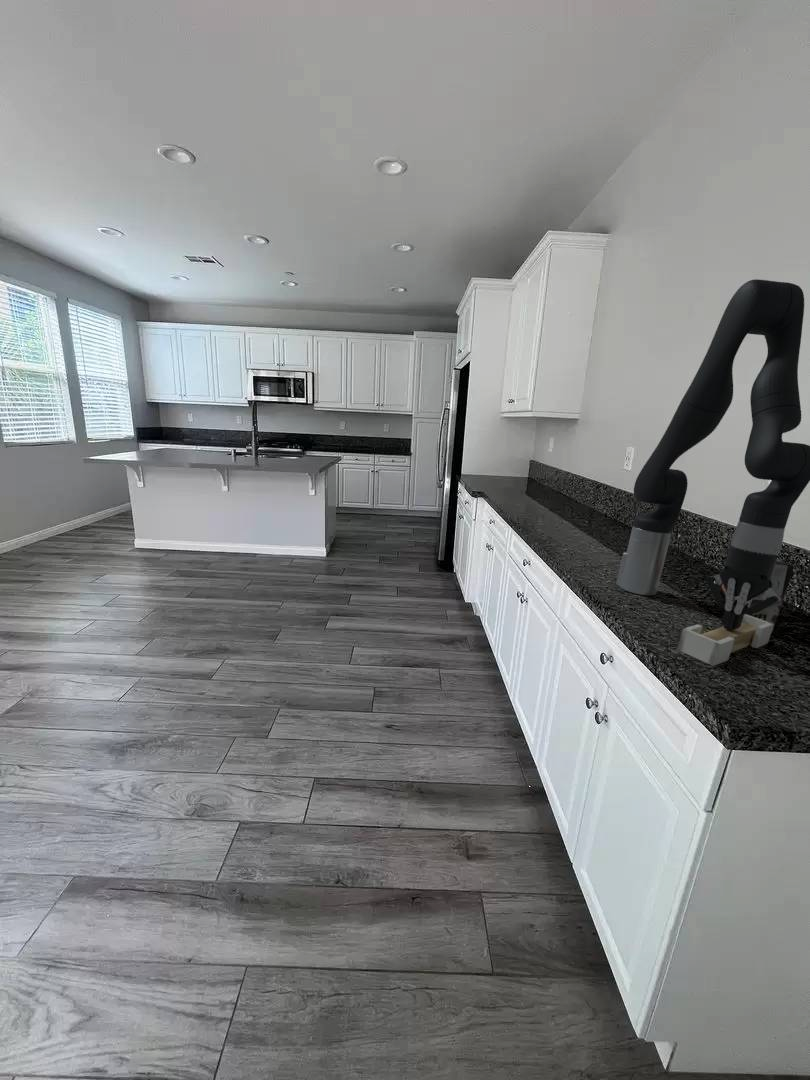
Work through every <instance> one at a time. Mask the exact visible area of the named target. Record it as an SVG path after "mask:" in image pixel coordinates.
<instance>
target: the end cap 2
mask: <svg viewBox="0 0 810 1080" xmlns="http://www.w3.org/2000/svg"><path fill="white" fill-rule="evenodd" d="M742 623H745V624H748V625H751V626H753V627H756V628H757V629H756V632H755V635H754V638H753V641H752V644H751V645H750V647H752V648H755V649H758V648H760V647H763V646H765V645H768V643H769V641H770V638H771V636H772V635H771V634H772V633H773V632H772V629H773V626H774V624H772V623H769V622H767V621H764V620H761V619H758V618H755V617H752V616H749V615H746V614H745V615H744V617H743V620H742ZM722 625H723V624H722ZM722 627H724V625H723V626H722ZM774 627H775V626H774ZM773 630H774V629H773ZM771 632H772V633H771Z"/></svg>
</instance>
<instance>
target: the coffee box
mask: <svg viewBox="0 0 810 1080" xmlns="http://www.w3.org/2000/svg"><path fill="white" fill-rule="evenodd" d="M794 569H795V565H794V564H791V563H789V562H787V561H783V560H782V559H780V558H777V561H776V564H775V567H774V570H773V573H772V576H771V583H772V587H771V589H772V590H773V591H774V592H775V593H776V594H777V595H780V596H781V597H782V600H781V601H780V602H778V603H776V604H774V605H772V606H770V607H768V608H766V609H764V610H762V611H760V612H758V613H755V614H752V615H749V616H752V617H755V618H758V619H761V620H764V621H767V622H769V623H772V624H774V626H773V629H772V632H771V634H772V633H773V631H774V630H775V629H774V628H775V626H776V622H777V619H778V617H779V614H780V611H781V608H782V605H783V602H784V599H785V597H786V592H787V591H788V587H789V584H790V580H791V577H792V575H793V572H794ZM764 595H765V592H764V593H762V594H761V595H759V596H757V597H755V598H753V599H752V602H751V603H750V604H749V607H752V606H754V605H756V604H758V603H760V602H762V601H764V600H763V596H764ZM746 615H747V614H746Z"/></svg>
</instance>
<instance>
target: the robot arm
mask: <svg viewBox="0 0 810 1080" xmlns="http://www.w3.org/2000/svg"><path fill="white" fill-rule="evenodd" d="M804 314H805V295H804V291H803V289H802V288H801V287H800V286H799V285H797V284H795V283H792V282H787V281H786V282H784V281H775V280H768V279H756V278H755V279H751V280H748V281H746V282H745V283H743V284H742V285H740V287H738V289H737V290H736V292H735V293H733V295H732V297H731V298H730V300H729V302H728V304H727V306H726V308H725V310H724V312H723V314H722V316H721V318H720V321H719V323H718V325H717V328H716V330H715V332H714V335H713V337H712V340H711V343H710V345H709V347H708V349H707V352H706V353H705V355H704V358H703V360H702V362H701V364H700V366H699V368H698V370H697V372H696V373H695V375H694V377H693V379H692V381H691V383H690V385H689V387H688V388H687V389H686V391H685V394H684V396H683V397H682V399H681V400H680V403H679V405H678V406H677V409H676V411H675V413H674V414H673V416H672V419H671V421H670V422H669V424H668V426H667V428H666V430H665V432H664V433H663V435H662V437H661V439H660V441H659V442H658V444H657V446H656V447H655V448H654V450H653V451H652V453H651V455H650V456H649V458H648V459H647V461H646V462H645V464H644V465H643V467H642V469H641V470H640V472H639V473H638V475H637V477H636V479H635V482H634V487H633V496H634V498H635V499H636V500H637V501H638V502H640V503H644V504H653V505H654V504H655V506H654V508H652V509H651V510H648V512H645V513H641V514H638V515H637V516H635V517H634V519H633V522H632V523H633V524H632V527H631V528H632V529H631V532H630V538H629V541H628V544H627V550H626V551H623V553H622V556H621V561H620V565H619V570H618V573H617V579H616V583H615V585H616V586H617V587H620V588H621V589H623V590H624V591H627V592H630V593H632V594H637V595H640V596H641V595H642V596H655V595H657V592H658V590H659V589H658V588H659V584H660V579H661V576H662V572H663V569H664V564H665V561H666V556H667V552H668V549H669V546H670V545H669V544H670V540H671V536H672V532H673V529H674V527H675V525H676V524H677V522H678V520H679V517H680V514H681V510H682V507H683V504H684V501H685V497H686V494H687V491H688V485H689V484H688V482H689V481H688V478H687V477H688V476H687V474H686V473H685V472H684V471H683V470H680V469H674V468H671V467H672V466H673V464H674V463H675V462H676V461H677V460H678V459H679V458H680V457H681V456H682V455H684V454H685V453H686V452H688V451H689V450H691V449H692V448H693V447H695V446H697V445H698V444H700V442H702V441H703V440H705V439H706V438H708V437H709V436H710V435H712V433H713V432H715V430H716V429H717V427H718V426H719V424H720V423H721V422H722V419H723V418H724V416H725V414H726V413H727V411H728V410H729V408H730V407H731V404H732V401H733V397H734V376H733V375H734V374H733V367H734V362H735V358H736V355H737V353H738V351H739V349H740V347H741V345H742V343H743V342H744V340H745V337H746V336H747V335H757V336H764V338H765V343H766V347H767V356H766V359H765V361H764V364H763V365H762V368H761V369H760V371H759V372H758V374H757V375H756V377H755V380H754V382H753V383H752V386H751V391H750V411H751V412H750V413H751V421H752V422H751V423H752V425H751V426H752V427H751V430H750V434H749V437H748V443H747V446H746V450H745V455H744V465H745V468H746V470H747V472H748V474H749V475H750V476H752V477H753V478H755V479H758V480H765V481H766V480H767V481H770V482H769V484H768V485H767V487H766V488H765V489H763V490H760V491H755V492H751V493H749V494H748V495H746V498H745V499H744V502H743V506H742V509H741V512H740V516H739V518H738V522H737V525H736V527H735V529H734V531H733V534H732V537H731V542H730V545H729V547H728V550H727V551H728V552H727V555H726V558H725V561H724V566H723V568H722V569H721V570H720V571H719V574H715V575H710V576H706V577H705V583H706V584H707V586H708V589H709V591H710V593H711V595H712V597H713V599H714V601H715V603H716V604H717V605H720V606H721V607H723V609H724V613H723V616H722V619H721V624H722V625H724V628H725V629H728V630H731V631H733V630H735V629H738V628H739V627H740V626H741V623H742V620H743V617H744V615H745V614H747V615H752V614H755V613H758V612H760V611H762V610H764V609H766V608H768V607H770V606H772V605H774V604H776V603H778V602H780V601H781V600H782V597H781V596H780V595H777V594H776V593H775V592H774V591H773V590H772V589H771V587H772V583H771V576H772V573H773V570H774V567H775V564H776V561H777V559H779V558H778V557H779V554H780V552H781V550H782V548H783V547H782V544H783V542H784V535H785V529H786V525H787V523H788V520H789V517H790V513H791V509H792V507H793V505H794V504H795V503H796V501H798V499H799V498H800V496H801V495H802V493H803V491H804V490H805V489H806V487H807V485H808V484H809V483H810V445H809V444H806V443H800V442H790V441H789V442H788V441H783V434H786V433H788V432H791V431H793V430H795V429H797V428H798V427H799V426H800V424H801V422H802V410H801V409H802V407H801V400H800V399H801V398H800V397H801V396H800V389H799V378H798V377H799V375H798V374H799V373H798V372H799V357H800V350H801V342H802V334H803V333H802V332H803V325H804V324H803V323H804ZM722 584H723V585H724V587H725V589H726V591H727V593H726V595H725V593H724V591H723V589H722ZM764 592H765V595H764V596H763V600H764V601H762V602H760V603H758V604H756V605H754V606H752V607H749V604H750V603H751V602H752V599H753V598H755V597H757V596H759V595H761V594H762V593H764Z"/></svg>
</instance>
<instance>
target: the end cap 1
mask: <svg viewBox="0 0 810 1080" xmlns="http://www.w3.org/2000/svg"><path fill="white" fill-rule="evenodd" d="M702 629H703V625H701V624H699V623H696V624H695V625H691V626H687V627H685V628H682V631H681V633H680V638H679V641H678V644H677V648H676V650H677V651H680V652H681V653H684V654H686V655H688V656H691V657H693V658H694V659H697V660H698V661H701V662H703V663H706V664H708V665H710V666H712V667H716V666H717V665H720V664H722V663H724V662H726V661H729V659H730V656H731V653H730V652H731V649H732V646H733V643H734V640H735V639H734V638H731V637H727V638H724V639H722V640H719V641H715V640H713V639H711V638H708V637H706V636H703V635H701V634H702Z"/></svg>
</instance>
